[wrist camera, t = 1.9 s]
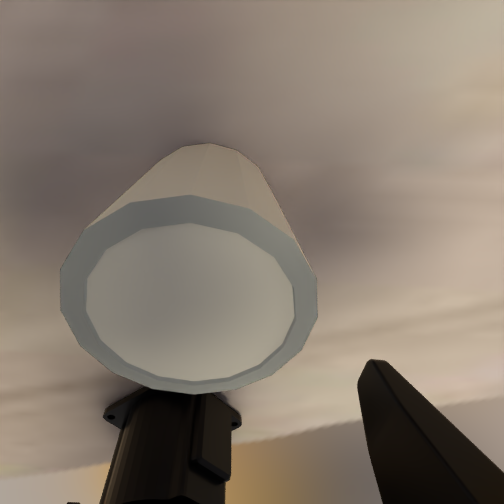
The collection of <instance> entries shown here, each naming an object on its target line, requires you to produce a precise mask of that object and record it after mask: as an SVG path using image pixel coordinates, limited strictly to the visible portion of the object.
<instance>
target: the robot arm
mask: <svg viewBox="0 0 504 504" xmlns="http://www.w3.org/2000/svg"><path fill="white" fill-rule="evenodd" d="M357 389H358V395H359V401H360V407H361V412H362V418H363V424H364V430H365V435H366V441H367V446H368V451H369V455H370V459H371V463H372V466H373V470H374V474H375V477H376V481H377V484H378V487H379V492H380V495H381V499H382V502H383V504H504V472H503V471H501V469H499V468H498V467H497V466H496V465H495V464H494V463H493V462H492V461H491V460H490V459H489V458H488V457H487V456H486V455H484V453H483V452H482V451H481V450H479V449H478V448H477V447H476V446H475V445H474V444H473V443H472V442H471V441H470V440H469V439H468V438H467V437H466V436H465V435H464V434H463V433H462V432H460V431H459V430H458V429H457V428H456V427H455V426H454V425H453V424H452V423H451V422H450V421H449V420H448V419H447V418H446V417H445V416H444V415H443V414H442V413H440V412H439V411H438V410H437V409H436V408H435V407H434V406H433V405H432V404H431V403H430V402H429V401H428V400H427V399H426V398H425V397H424V396H423V395H422V394H421V393H420V392H418V391H417V390H416V389H415V388H414V387H413V386H412V385H411V384H410V383H409V382H408V381H407V380H406V379H405V378H404V377H403V376H402V375H401V374H400V373H398V372H397V371H396V370H395V369H394V368H393V367H392V366H391V365H390V364H389V363H388V362H386V361H384V360H375V359H370V360H369V361H368V362H367V363H366V365H365V367H364V369H363V371H362V373H361V375H360V377H359V380H358V384H357ZM103 418H104V419H105V420H106V421H108V422H109V423H111V424H113V425H114V426H116V427H118V428H120V429H121V431H120V434H119V438H118V441H117V445H116V448H115V452H114V455H113V458H112V462H111V465H110V469H109V472H108V476H107V479H106V483H105V486H104V489H103V493H102V496H101V500H100V503H99V504H225V484H226V482H227V481H229V480H230V476H231V431H232V430H235V429H237V428H239V427H240V426H241V425H242V419H241V416H240V415H239V414H237V413H236V412H235V411H234V410H232V409H231V408H230V407H228V406H227V405H226V404H225V403H223V402H222V401H221V400H220V399H218V398H217V397H216V396H214V395H213V394H212V393H203V394H187V393H180V392H172V391H165V390H157V389H151V388H149V387H147V386H145V387H143V388H142V389H140V390H138V391H136V392H134V393H133V394H131V395H129V396H127V397H125V398H124V399H122V400H120V401H118V402H117V403H115V404H113V405H111V406H109V407H108V408H106V409H105V412H104V415H103ZM67 504H80V503H77V502H76V503H75V502H68V503H67Z"/></svg>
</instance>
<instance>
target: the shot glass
mask: <svg viewBox="0 0 504 504" xmlns="http://www.w3.org/2000/svg"><path fill="white" fill-rule="evenodd" d="M60 297H61V312H62V314H63V315H64V317H65V319H66V321H67V323H68V324H69V326H70V328H71V330H72V332H73V334H74V335H75V337H76V339H77V341H78V343H79V345H80V346H81V347H82V348H83V349H85V350H86V351H87V352H88V353H90V354H91V355H92V356H93V357H94V358H96V359H97V360H98V361H99V362H100V363H102V364H103V365H104V366H105V367H107V368H108V369H109V370H110V371H111V372H113V373H115V374H117V375H120V376H122V377H125V378H127V379H130V380H132V381H134V382H137V383H139V384H142V385H144V386H147V387H149V388H151V389H157V390H165V391H172V392H180V393H187V394H203V393H211V392H220V391H229V390H236V389H239V388H241V387H244V386H246V385H248V384H251V383H253V382H256V381H258V380H261V379H263V378H266V377H268V376H271V375H273V374H274V373H275V372H276V371H277V370H279V369H280V368H281V367H282V366H283V365H285V364H286V363H287V362H288V361H289V360H290V359H292V358H293V357H294V356H295V355H296V354H297V353H299V352H300V351H301V350H302V348H303V346H304V344H305V342H306V340H307V338H308V336H309V334H310V332H311V330H312V328H313V326H314V324H315V322H316V320H317V317H318V313H317V278H316V276H315V275H314V273H313V271H312V269H311V267H310V265H309V263H308V261H307V259H306V257H305V255H304V253H303V251H302V249H301V247H300V245H299V243H298V241H297V239H296V238H295V236H294V234H293V232H292V230H291V228H290V226H289V224H288V222H287V220H286V218H285V216H284V214H283V212H282V210H281V208H280V206H279V204H278V202H277V201H276V199H275V197H274V195H273V193H272V191H271V189H270V187H269V185H268V183H267V182H266V180H265V178H264V176H263V175H262V173H261V171H260V169H259V168H258V166H257V165H255V164H254V163H253V162H251V161H250V160H249V159H247V158H246V157H245V156H243V155H242V154H241V153H240V152H238V151H237V150H234V149H230V148H227V147H223V146H219V145H215V144H212V143H206V144H198V145H191V146H184V147H181V148H179V149H178V150H176V151H175V152H173V153H171V154H170V155H168V156H166V157H165V158H163V159H162V160H160V161H159V162H158V163H157V164H156V165H154V166H153V167H152V168H151V169H150V170H149V171H148V172H147V173H146V174H145V175H143V176H142V177H141V178H140V179H139V180H138V181H137V182H136V183H135V184H134V185H133V186H131V187H130V188H129V189H128V190H127V191H126V192H125V193H124V194H123V195H122V196H120V197H119V198H118V199H117V200H116V201H115V202H114V203H113V204H112V205H111V206H110V207H108V208H107V209H106V210H105V211H104V212H103V213H102V214H101V215H100V216H99V217H97V218H96V219H95V220H94V221H93V222H92V223H91V224H90V225H89V226H88V227H87V228H85V229H84V230H83V232H82V234H81V235H80V237H79V239H78V240H77V242H76V244H75V245H74V247H73V249H72V250H71V252H70V254H69V255H68V257H67V259H66V260H65V262H64V264H63V265H62V267H61V269H60Z"/></svg>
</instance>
